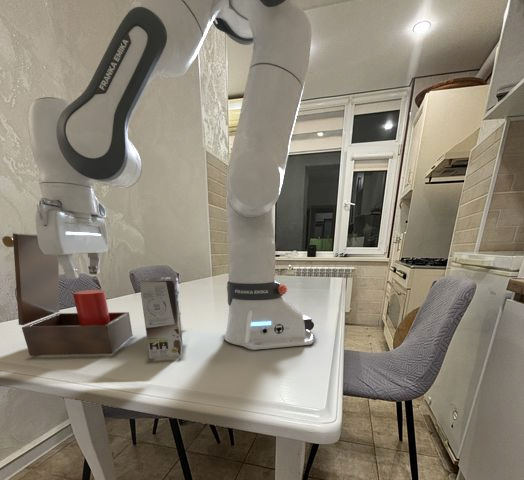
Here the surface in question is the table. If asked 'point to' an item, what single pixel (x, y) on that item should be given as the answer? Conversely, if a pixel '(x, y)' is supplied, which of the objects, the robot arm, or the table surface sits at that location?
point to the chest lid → (34, 278)
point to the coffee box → (162, 316)
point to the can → (91, 307)
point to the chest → (76, 335)
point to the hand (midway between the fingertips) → (84, 276)
